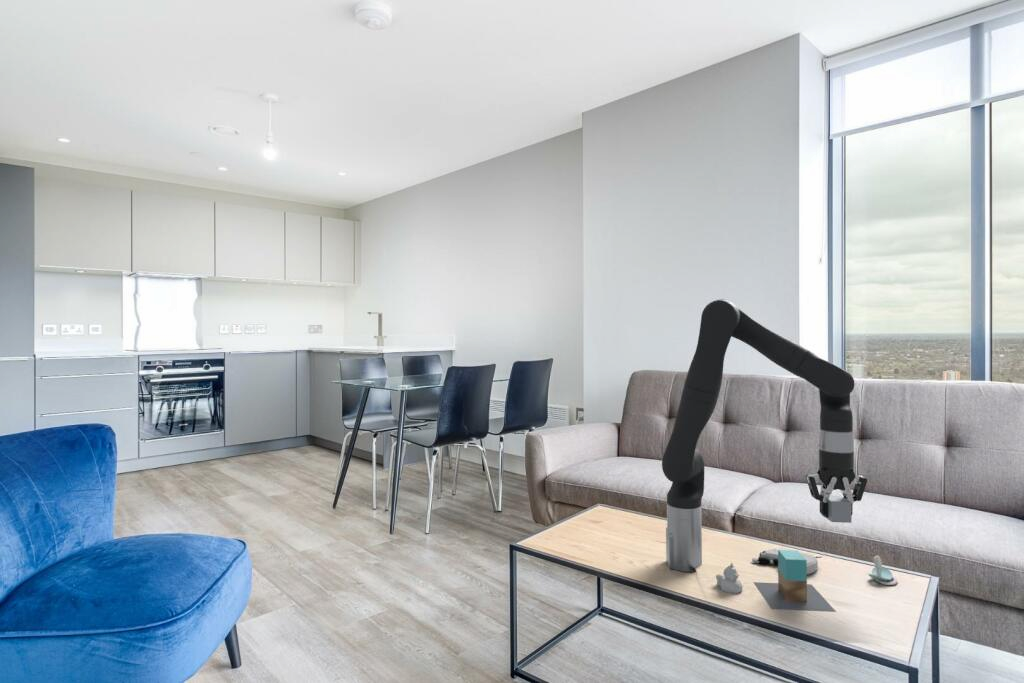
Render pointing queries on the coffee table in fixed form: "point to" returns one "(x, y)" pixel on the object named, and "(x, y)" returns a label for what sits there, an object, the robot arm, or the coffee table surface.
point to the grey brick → (839, 509)
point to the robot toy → (772, 558)
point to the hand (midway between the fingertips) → (836, 516)
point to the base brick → (792, 589)
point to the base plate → (779, 602)
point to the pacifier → (882, 573)
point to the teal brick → (792, 565)
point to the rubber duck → (729, 580)
